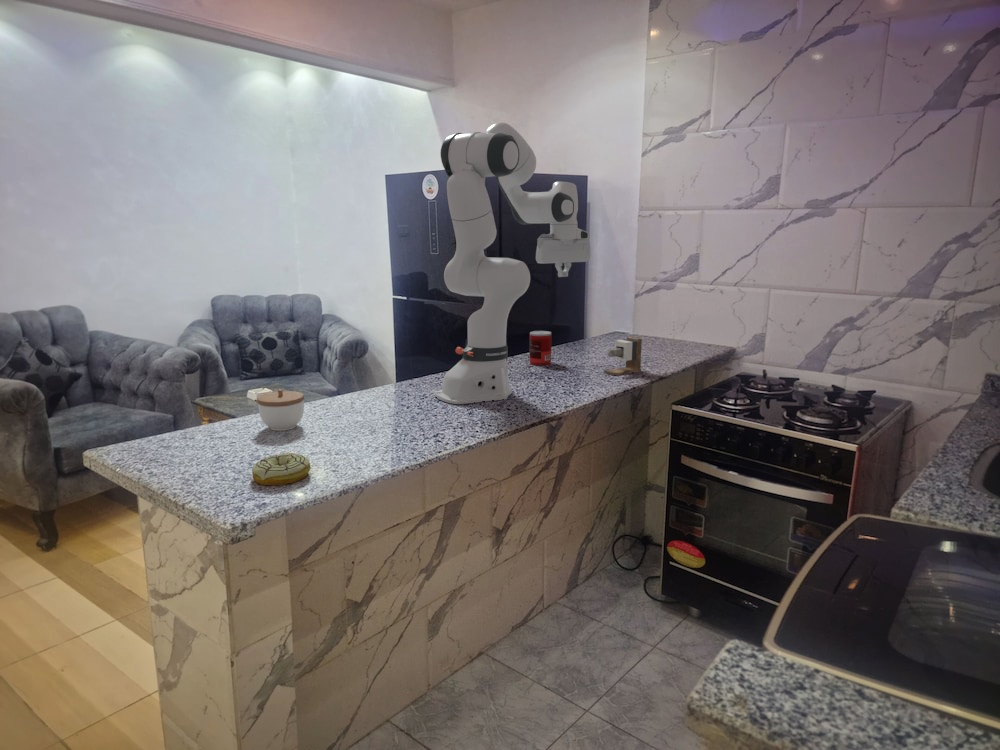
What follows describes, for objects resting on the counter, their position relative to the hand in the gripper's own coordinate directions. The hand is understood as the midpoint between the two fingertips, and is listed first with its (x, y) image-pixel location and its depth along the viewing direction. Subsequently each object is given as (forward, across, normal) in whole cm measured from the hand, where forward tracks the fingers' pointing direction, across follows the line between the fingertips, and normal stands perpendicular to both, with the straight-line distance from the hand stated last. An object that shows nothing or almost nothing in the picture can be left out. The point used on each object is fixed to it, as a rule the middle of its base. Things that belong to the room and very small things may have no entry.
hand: (563, 276), depth 217 cm
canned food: (+31, 0, +12) cm, 34 cm away
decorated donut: (+32, -106, -48) cm, 121 cm away
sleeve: (+27, +14, -15) cm, 34 cm away
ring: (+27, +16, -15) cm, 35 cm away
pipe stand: (+31, +14, -15) cm, 37 cm away
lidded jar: (+31, -97, -15) cm, 103 cm away
